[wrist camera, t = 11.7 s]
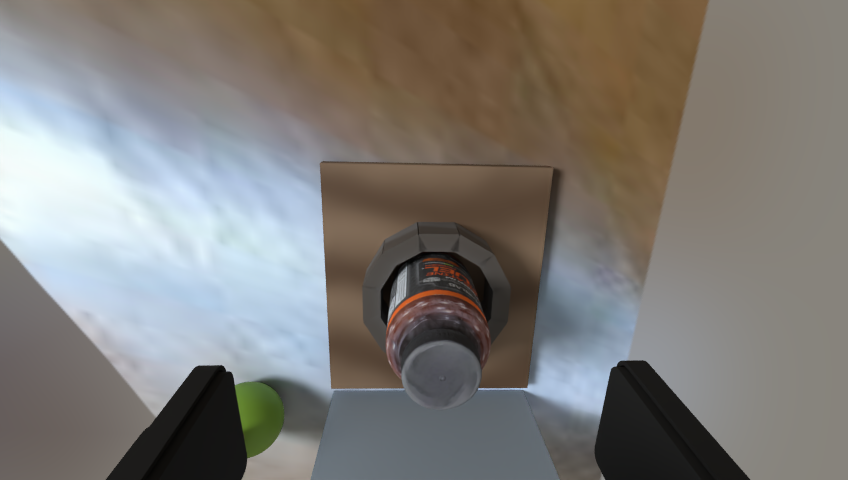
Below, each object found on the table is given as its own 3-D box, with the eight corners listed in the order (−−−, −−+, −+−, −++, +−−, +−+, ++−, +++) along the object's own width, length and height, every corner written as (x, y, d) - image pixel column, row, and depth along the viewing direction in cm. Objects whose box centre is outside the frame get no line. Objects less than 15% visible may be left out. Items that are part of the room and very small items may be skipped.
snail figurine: (305, 371, 34) (252, 505, 22) (280, 430, 35) (218, 583, 24) (240, 348, 33) (151, 475, 21) (217, 410, 34) (123, 558, 23)
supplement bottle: (482, 259, 30) (523, 341, 19) (456, 328, 32) (481, 440, 21) (404, 237, 29) (401, 310, 19) (381, 308, 31) (367, 414, 20)
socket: (322, 161, 29) (309, 169, 25) (548, 166, 29) (569, 174, 26) (333, 380, 34) (324, 414, 30) (524, 380, 35) (538, 413, 31)
